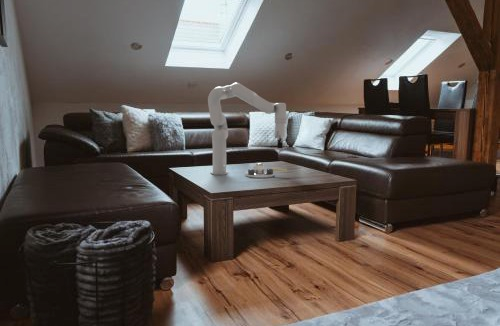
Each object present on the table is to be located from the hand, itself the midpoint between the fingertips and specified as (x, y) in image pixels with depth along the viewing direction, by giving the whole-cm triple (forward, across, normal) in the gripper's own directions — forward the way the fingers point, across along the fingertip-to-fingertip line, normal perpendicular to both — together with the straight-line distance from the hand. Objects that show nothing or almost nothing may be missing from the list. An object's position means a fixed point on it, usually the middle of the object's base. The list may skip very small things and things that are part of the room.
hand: (279, 148), depth 276 cm
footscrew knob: (+17, +6, -1) cm, 18 cm away
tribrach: (+19, +6, -13) cm, 24 cm away
